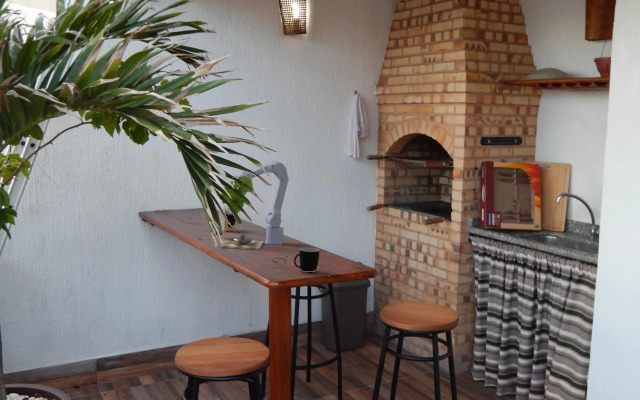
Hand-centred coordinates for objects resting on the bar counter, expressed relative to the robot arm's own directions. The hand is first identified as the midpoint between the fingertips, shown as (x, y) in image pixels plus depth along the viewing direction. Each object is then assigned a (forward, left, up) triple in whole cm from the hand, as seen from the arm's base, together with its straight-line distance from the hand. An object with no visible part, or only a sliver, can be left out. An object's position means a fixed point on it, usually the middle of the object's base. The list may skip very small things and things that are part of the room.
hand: (231, 226), depth 364 cm
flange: (-4, +3, -7) cm, 9 cm away
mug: (-42, +56, -10) cm, 71 cm away
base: (-6, +3, -9) cm, 12 cm away
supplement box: (+9, -38, -10) cm, 40 cm away
